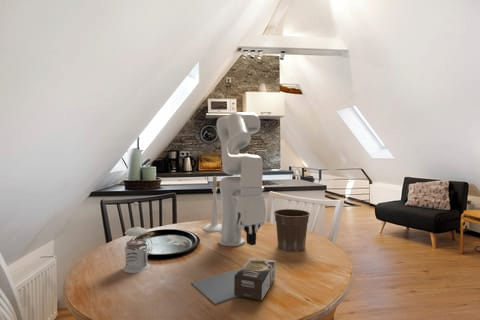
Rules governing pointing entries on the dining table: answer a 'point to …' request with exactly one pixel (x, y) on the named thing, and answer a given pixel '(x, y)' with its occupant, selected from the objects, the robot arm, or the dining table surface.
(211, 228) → the candlestick
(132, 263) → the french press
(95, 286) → the dining table surface
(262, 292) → the coffee box
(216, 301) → the mat
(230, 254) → the dining table surface
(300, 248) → the plant pot
